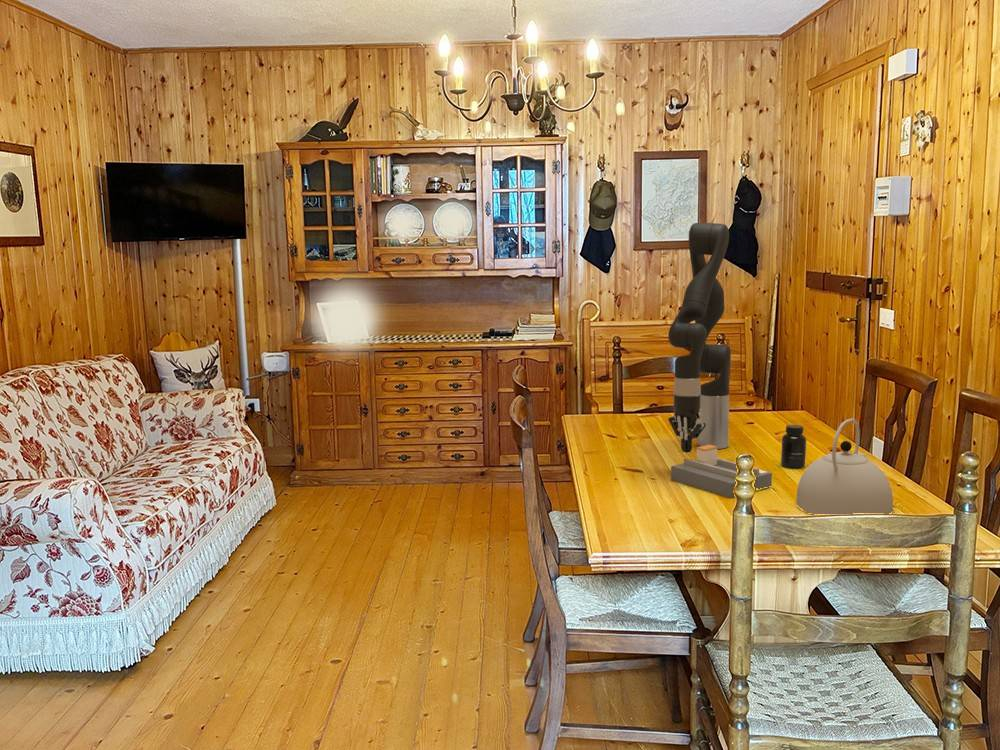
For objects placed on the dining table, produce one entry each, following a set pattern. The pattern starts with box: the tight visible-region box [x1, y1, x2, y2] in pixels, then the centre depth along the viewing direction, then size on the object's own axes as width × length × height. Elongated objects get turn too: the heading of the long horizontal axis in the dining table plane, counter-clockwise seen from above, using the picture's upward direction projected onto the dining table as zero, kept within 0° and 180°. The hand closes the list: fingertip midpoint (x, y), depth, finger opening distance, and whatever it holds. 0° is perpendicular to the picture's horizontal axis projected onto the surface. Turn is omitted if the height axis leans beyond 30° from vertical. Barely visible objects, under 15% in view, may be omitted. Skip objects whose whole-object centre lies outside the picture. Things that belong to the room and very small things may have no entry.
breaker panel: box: [670, 457, 773, 499], centre depth 239 cm, size 22×16×6 cm
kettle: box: [795, 418, 894, 516], centre depth 216 cm, size 25×23×22 cm
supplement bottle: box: [780, 424, 807, 469], centre depth 254 cm, size 7×7×12 cm
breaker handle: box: [696, 445, 718, 465], centre depth 243 cm, size 3×5×5 cm, turn 124°
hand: (686, 451), depth 249 cm, fingers closed
